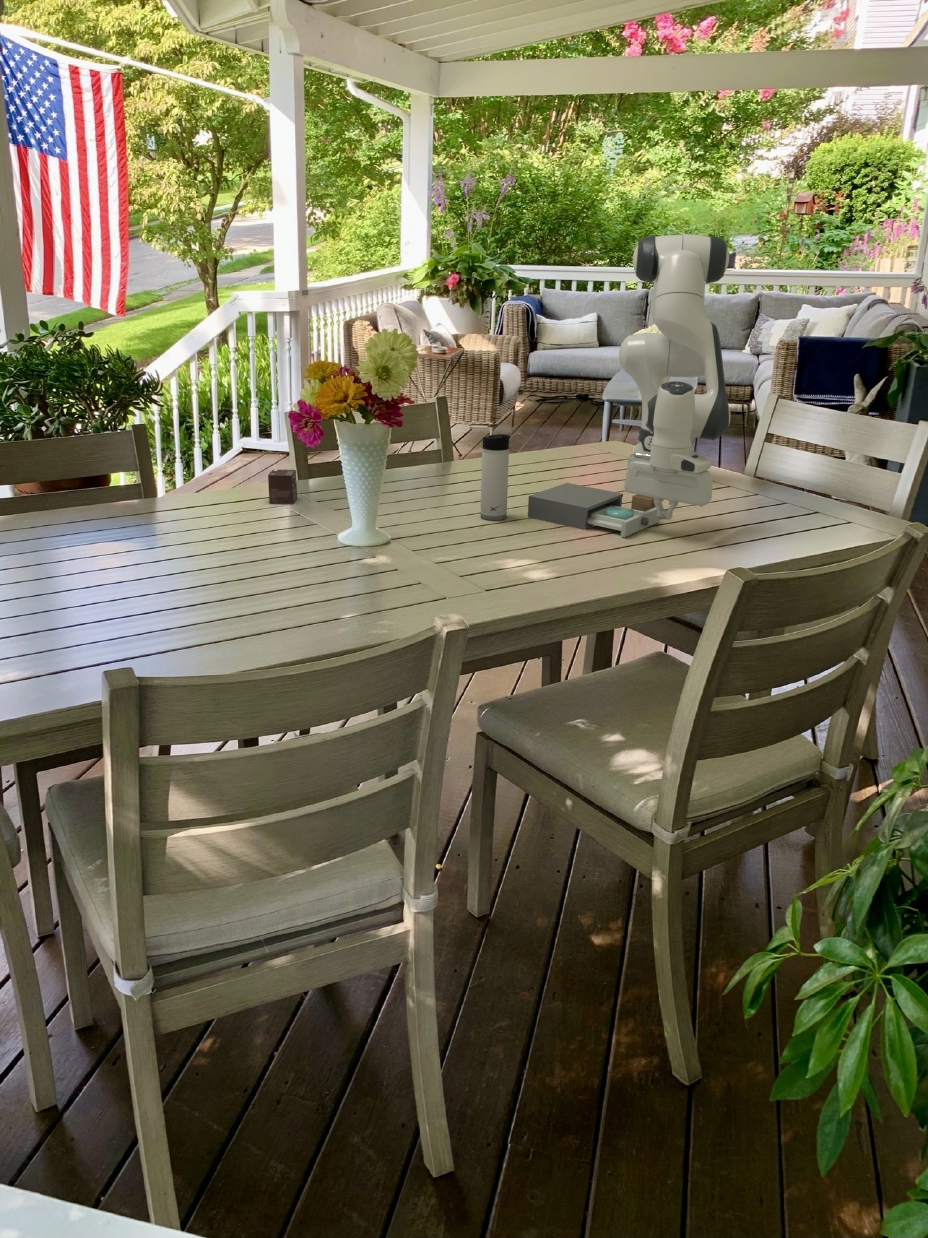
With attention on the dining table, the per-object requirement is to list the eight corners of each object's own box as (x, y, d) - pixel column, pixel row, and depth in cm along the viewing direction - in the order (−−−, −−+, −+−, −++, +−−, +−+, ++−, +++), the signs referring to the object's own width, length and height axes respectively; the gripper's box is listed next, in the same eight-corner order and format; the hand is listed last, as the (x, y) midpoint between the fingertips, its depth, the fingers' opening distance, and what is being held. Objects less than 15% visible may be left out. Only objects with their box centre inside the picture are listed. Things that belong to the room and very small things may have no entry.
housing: (565, 502, 256) (566, 482, 254) (621, 514, 247) (623, 493, 245) (527, 516, 243) (528, 495, 242) (585, 529, 235) (586, 507, 233)
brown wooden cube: (640, 512, 249) (642, 492, 248) (658, 515, 247) (660, 495, 245) (630, 516, 246) (632, 496, 244) (649, 520, 243) (651, 500, 241)
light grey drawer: (601, 509, 250) (602, 495, 249) (662, 522, 241) (664, 508, 239) (565, 524, 238) (566, 509, 236) (628, 538, 228) (629, 523, 227)
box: (293, 504, 250) (292, 475, 247) (268, 504, 250) (267, 474, 247) (297, 498, 255) (296, 469, 253) (273, 497, 255) (272, 468, 253)
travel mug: (497, 522, 239) (500, 437, 231) (475, 517, 242) (477, 433, 235) (512, 516, 243) (516, 433, 236) (490, 511, 247) (493, 429, 239)
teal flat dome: (614, 512, 242) (615, 505, 241) (638, 517, 238) (639, 510, 238) (601, 517, 237) (601, 511, 236) (625, 523, 234) (626, 516, 233)
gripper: (621, 453, 229) (617, 512, 234) (706, 466, 217) (699, 529, 222) (635, 449, 234) (630, 507, 239) (718, 462, 222) (711, 523, 227)
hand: (664, 518), depth 230 cm, fingers closed
